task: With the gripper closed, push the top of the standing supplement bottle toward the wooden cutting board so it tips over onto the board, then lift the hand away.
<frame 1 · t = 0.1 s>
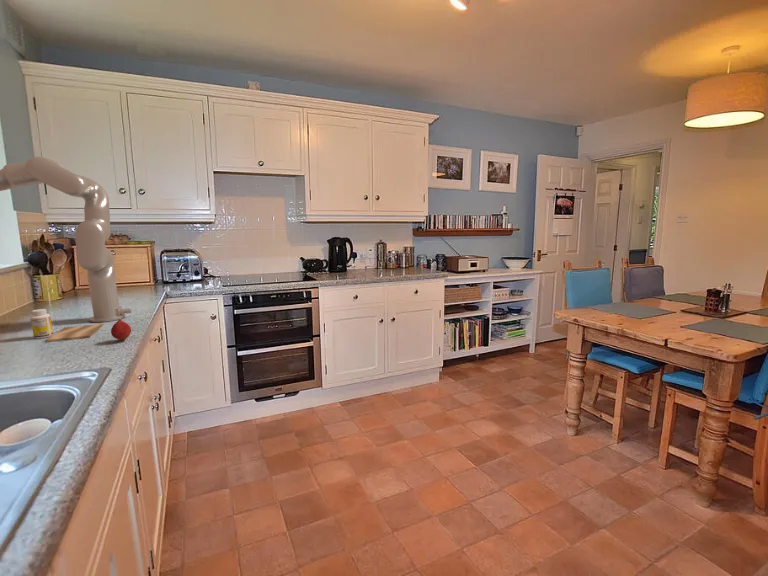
supplement bottle: (44, 337, 144), on the countertop
wooden cutting board: (76, 333, 147), on the countertop
onion: (122, 341, 137), on the countertop
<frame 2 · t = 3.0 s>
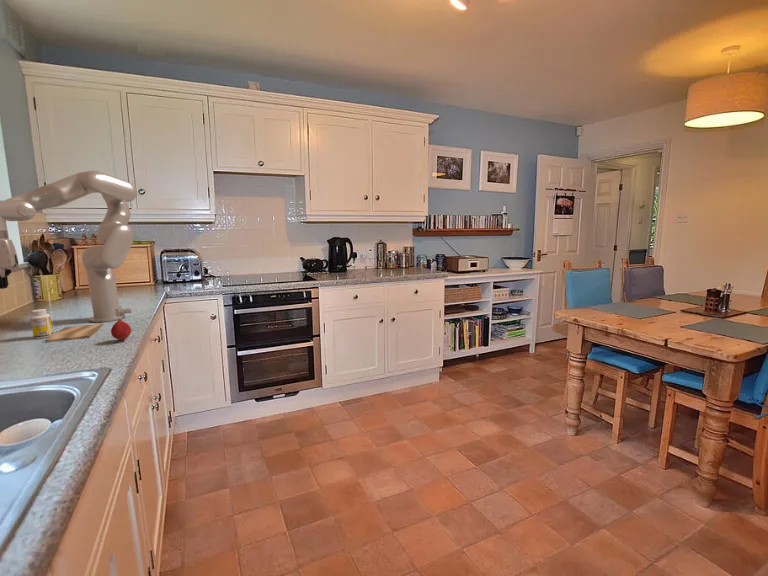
hand: (2, 288, 137), 19 cm above the countertop, tool pointing down, fingers closed
nothing on the countertop moved.
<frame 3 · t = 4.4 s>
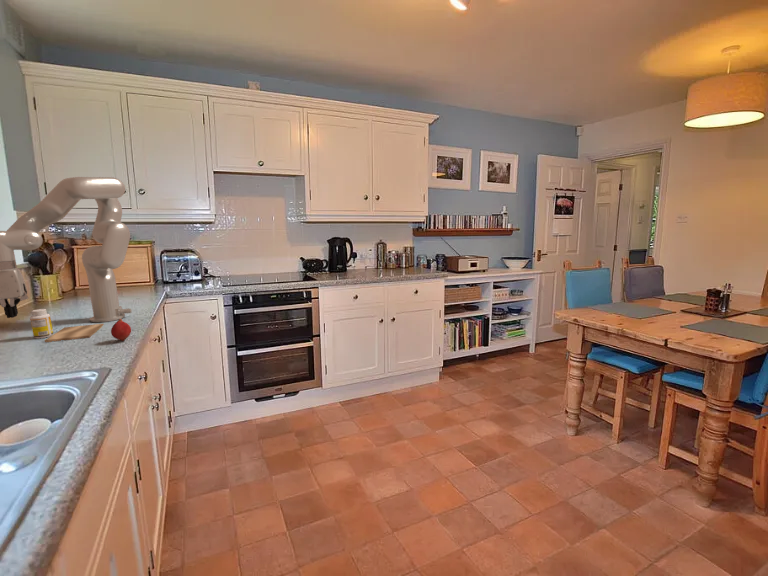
hand: (12, 316, 139), 9 cm above the countertop, tool pointing down, fingers closed
nothing on the countertop moved.
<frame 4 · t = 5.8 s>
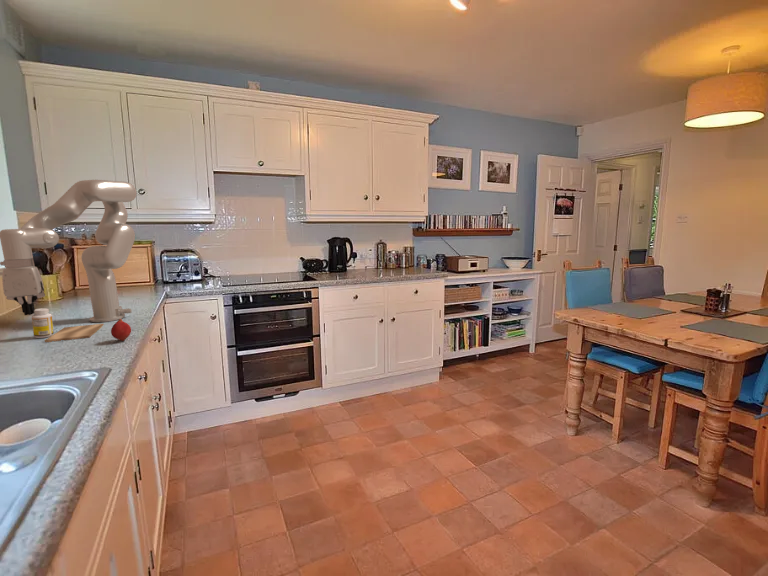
hand: (29, 314, 141), 9 cm above the countertop, tool pointing down, fingers closed
supplement bottle: (43, 336, 143), on the countertop, touching gripper
everything else where it was.
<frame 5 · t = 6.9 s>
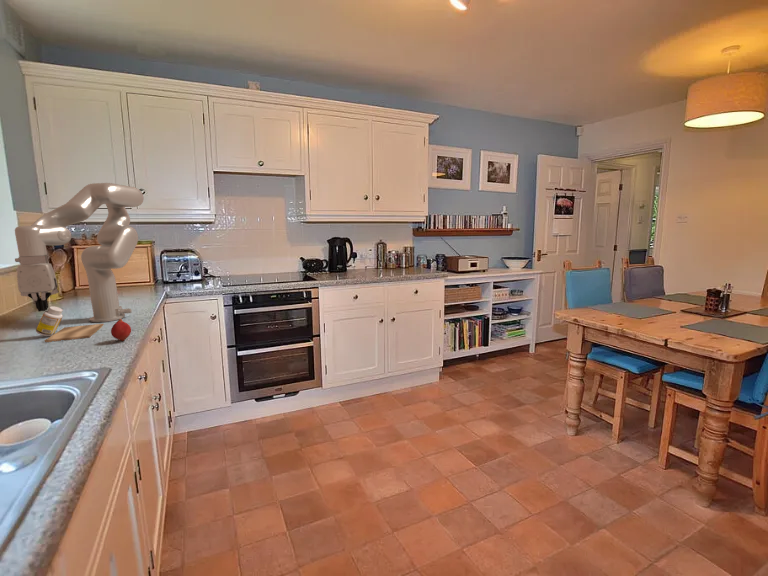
hand: (43, 310, 142), 10 cm above the countertop, tool pointing down, fingers closed
supplement bottle: (44, 333, 143), point 1 cm above the countertop, touching gripper
everything else where it was.
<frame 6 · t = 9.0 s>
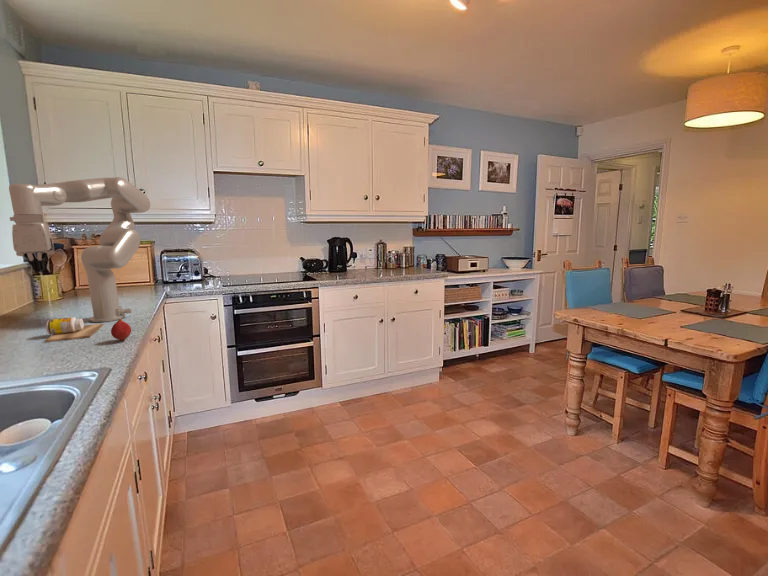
hand: (39, 271, 140), 24 cm above the countertop, tool pointing down, fingers closed
supplement bottle: (47, 327, 143), point 4 cm above the countertop, touching wooden cutting board
everything else where it was.
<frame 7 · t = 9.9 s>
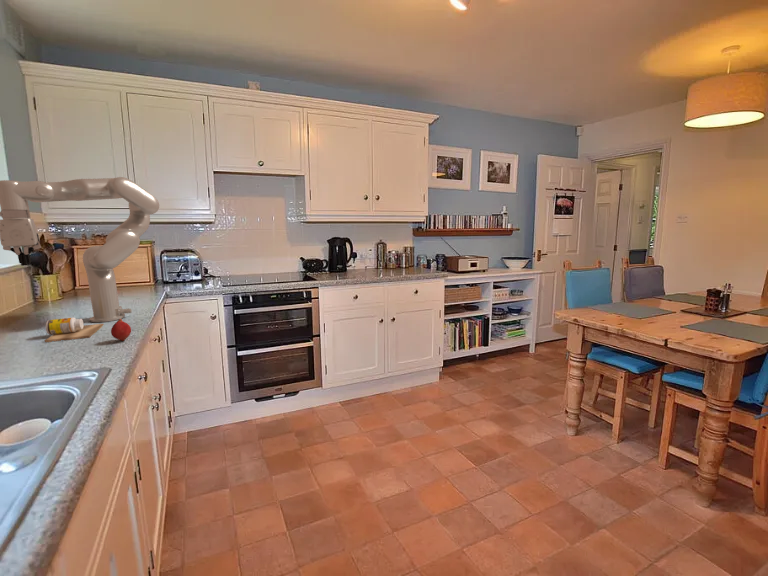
hand: (25, 265, 145), 26 cm above the countertop, tool pointing down, fingers closed
nothing on the countertop moved.
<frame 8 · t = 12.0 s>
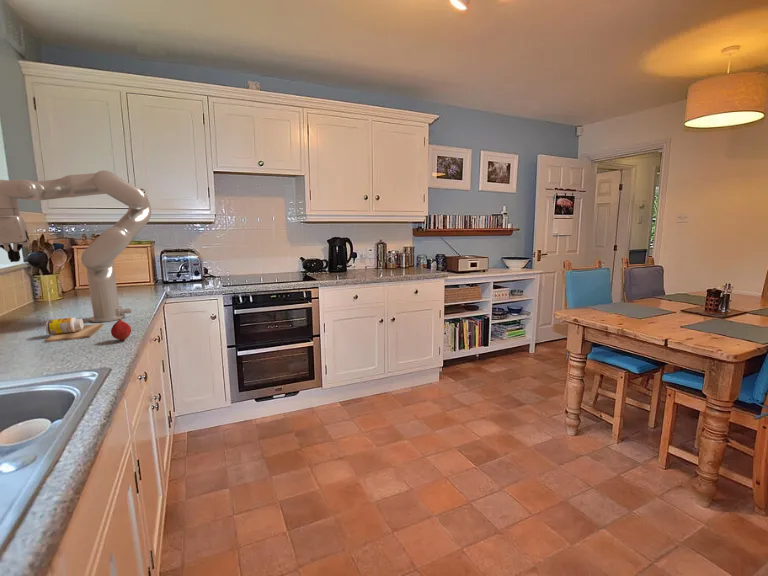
hand: (15, 261, 150), 27 cm above the countertop, tool pointing down, fingers closed
nothing on the countertop moved.
at the end: supplement bottle tilted 90°; supplement bottle touching wooden cutting board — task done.
